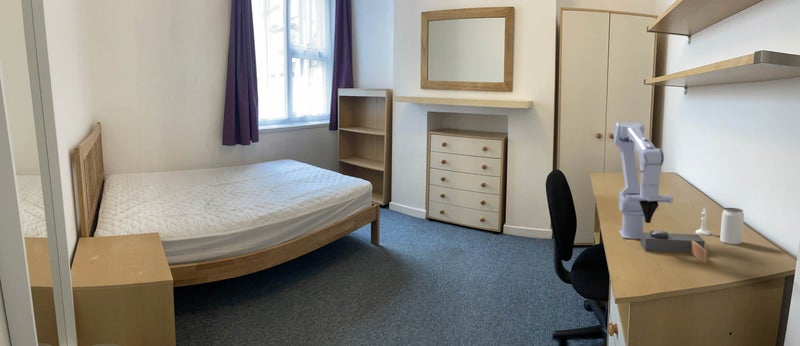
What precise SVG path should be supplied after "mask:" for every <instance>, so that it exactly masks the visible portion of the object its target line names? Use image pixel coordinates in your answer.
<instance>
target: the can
mask: <svg viewBox="0 0 800 346" xmlns="http://www.w3.org/2000/svg"><path fill="white" fill-rule="evenodd" d="M744 219H745V213H744V209H741V208H737V207H724V208H723V211H722V213H721V221H720V222H721V225H720V238H719V239H720V242H721V243H724V244H727V245H732V246H733V245H734V246H736V245H737V246H738V245H740V244H741V243H743V242H742V240H743V230H744V222H745V221H744Z"/></svg>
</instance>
